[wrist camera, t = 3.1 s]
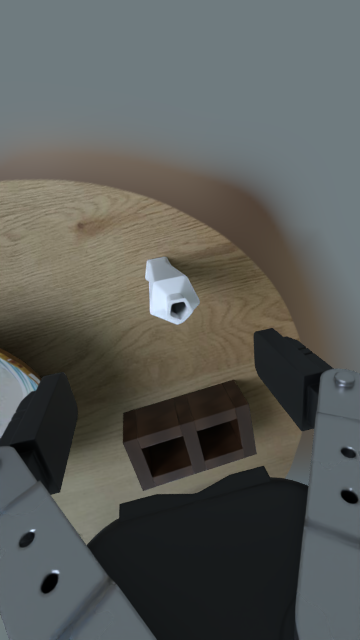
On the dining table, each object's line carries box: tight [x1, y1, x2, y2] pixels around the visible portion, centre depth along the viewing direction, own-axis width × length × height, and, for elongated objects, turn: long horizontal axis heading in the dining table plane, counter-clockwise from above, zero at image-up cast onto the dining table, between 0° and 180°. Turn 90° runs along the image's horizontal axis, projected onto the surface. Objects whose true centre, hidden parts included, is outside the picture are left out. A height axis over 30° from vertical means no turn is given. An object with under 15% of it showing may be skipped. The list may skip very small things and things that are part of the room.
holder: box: [123, 380, 257, 491], centre depth 43 cm, size 18×10×6 cm, turn 103°
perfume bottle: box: [145, 257, 200, 324], centre depth 29 cm, size 5×4×15 cm
